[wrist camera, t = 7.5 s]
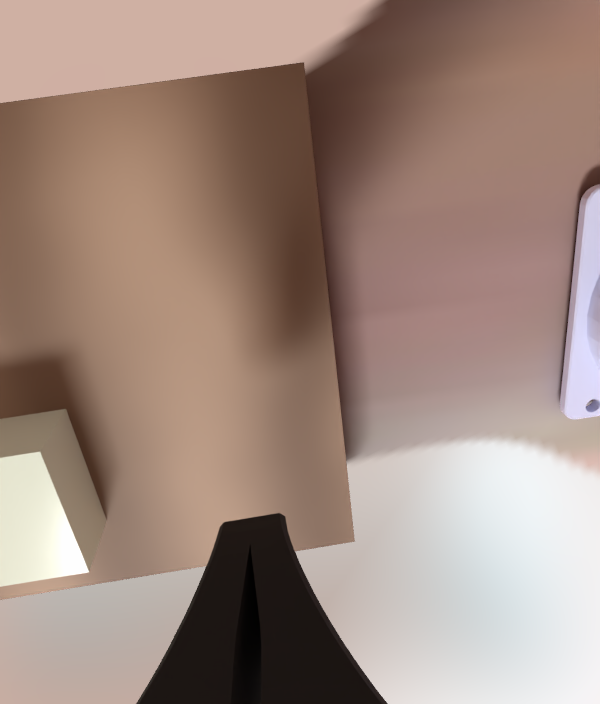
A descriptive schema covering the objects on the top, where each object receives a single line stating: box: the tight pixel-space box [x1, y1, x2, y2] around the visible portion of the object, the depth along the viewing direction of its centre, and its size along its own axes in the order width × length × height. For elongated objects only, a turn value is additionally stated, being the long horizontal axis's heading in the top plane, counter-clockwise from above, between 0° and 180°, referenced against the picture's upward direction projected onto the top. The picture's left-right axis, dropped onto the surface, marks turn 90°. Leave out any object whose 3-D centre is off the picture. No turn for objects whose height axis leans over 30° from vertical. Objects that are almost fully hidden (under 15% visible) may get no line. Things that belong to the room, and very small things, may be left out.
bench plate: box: [0, 63, 355, 600], centre depth 15 cm, size 14×14×2 cm
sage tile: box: [0, 409, 107, 587], centre depth 14 cm, size 4×4×2 cm
